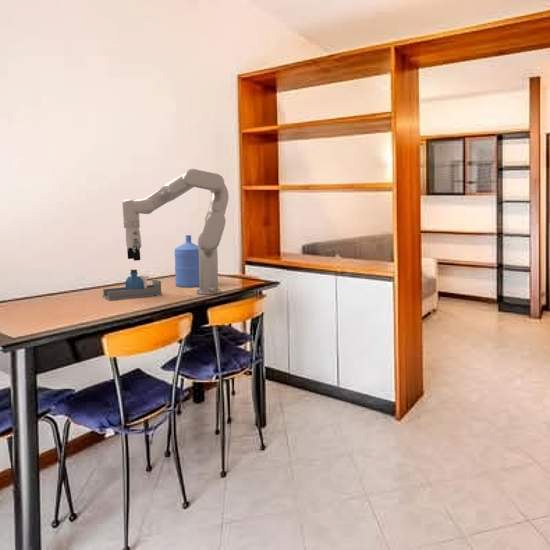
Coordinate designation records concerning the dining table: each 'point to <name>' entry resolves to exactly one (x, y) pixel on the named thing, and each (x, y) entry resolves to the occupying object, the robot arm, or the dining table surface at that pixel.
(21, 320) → the dining table surface
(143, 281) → the pusher
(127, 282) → the perfume bottle
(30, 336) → the dining table surface
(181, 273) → the water jug
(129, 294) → the tray
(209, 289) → the robot arm
